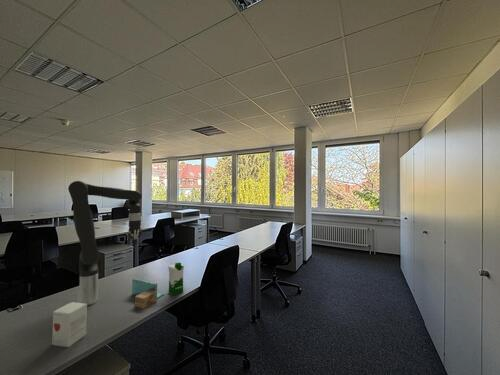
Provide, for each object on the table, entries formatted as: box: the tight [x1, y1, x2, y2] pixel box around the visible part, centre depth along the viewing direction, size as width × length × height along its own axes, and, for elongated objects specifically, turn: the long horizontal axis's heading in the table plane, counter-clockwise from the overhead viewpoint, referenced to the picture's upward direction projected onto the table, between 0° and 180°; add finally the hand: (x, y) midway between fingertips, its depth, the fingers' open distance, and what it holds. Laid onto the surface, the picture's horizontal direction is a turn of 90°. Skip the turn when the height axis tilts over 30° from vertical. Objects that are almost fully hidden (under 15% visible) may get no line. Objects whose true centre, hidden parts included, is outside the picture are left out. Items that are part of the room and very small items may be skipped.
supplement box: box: [51, 301, 88, 348], centre depth 100 cm, size 9×9×15 cm
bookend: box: [131, 278, 165, 300], centre depth 144 cm, size 8×20×10 cm, turn 68°
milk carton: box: [168, 262, 185, 296], centre depth 149 cm, size 9×9×20 cm
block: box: [134, 290, 158, 309], centre depth 133 cm, size 10×7×6 cm
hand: (134, 244), depth 150 cm, fingers closed
